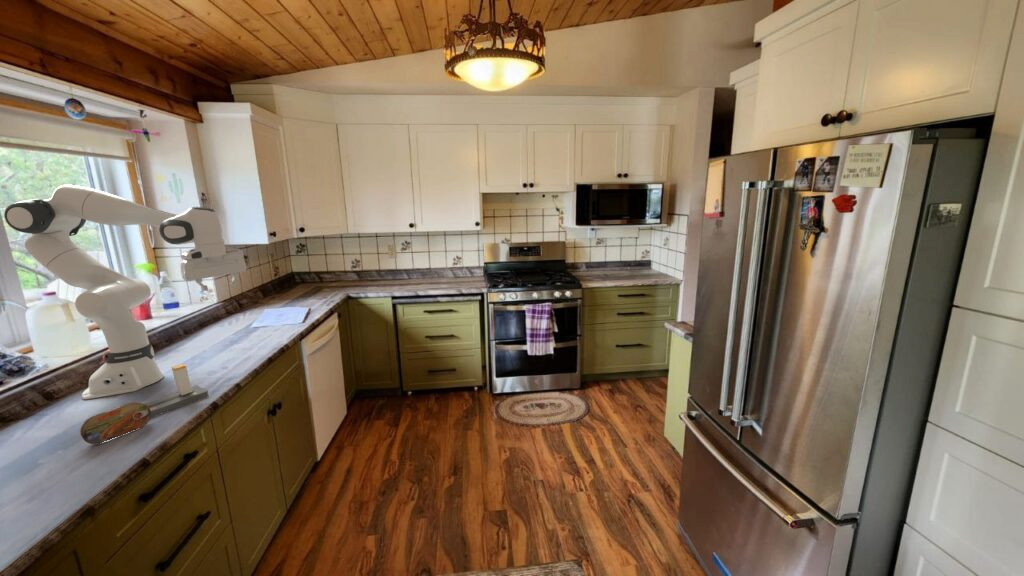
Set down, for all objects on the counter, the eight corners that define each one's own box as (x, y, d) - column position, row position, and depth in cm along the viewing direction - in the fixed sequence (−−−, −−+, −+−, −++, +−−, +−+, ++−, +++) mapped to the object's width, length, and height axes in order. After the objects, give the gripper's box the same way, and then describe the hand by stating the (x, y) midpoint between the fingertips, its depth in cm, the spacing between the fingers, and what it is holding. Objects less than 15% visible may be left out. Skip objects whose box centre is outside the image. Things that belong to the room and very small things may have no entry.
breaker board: (142, 421, 127) (140, 415, 126) (132, 413, 132) (131, 407, 131) (208, 396, 141) (207, 390, 141) (197, 390, 146) (196, 384, 146)
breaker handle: (181, 395, 137) (174, 368, 135) (178, 393, 139) (171, 367, 137) (192, 391, 140) (185, 365, 138) (188, 389, 141) (182, 363, 139)
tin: (86, 450, 113) (77, 423, 111) (83, 447, 115) (74, 420, 113) (154, 423, 125) (147, 398, 123) (150, 421, 127) (143, 396, 125)
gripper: (238, 247, 160) (245, 281, 164) (175, 255, 144) (184, 293, 147) (245, 247, 157) (252, 282, 160) (182, 255, 140) (191, 294, 144)
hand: (219, 287), depth 154 cm, fingers open, 8 cm apart
